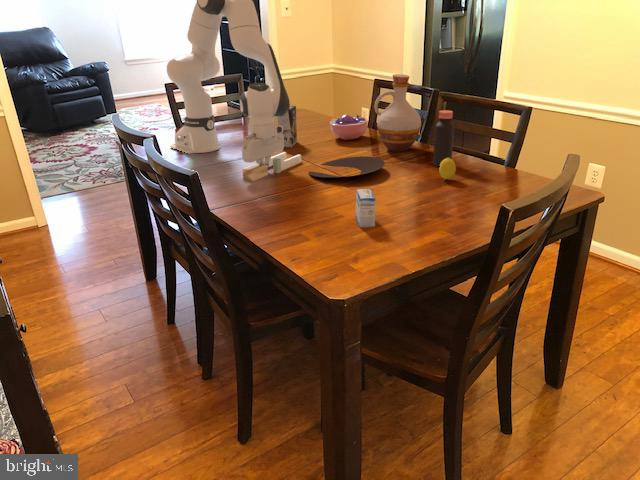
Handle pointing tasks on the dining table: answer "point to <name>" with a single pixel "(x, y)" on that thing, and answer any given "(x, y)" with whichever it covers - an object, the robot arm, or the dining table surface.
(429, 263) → the dining table surface
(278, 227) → the dining table surface
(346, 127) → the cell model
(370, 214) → the medicine box
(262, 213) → the dining table surface
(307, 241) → the dining table surface
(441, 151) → the bottle
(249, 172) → the maple block
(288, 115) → the coffee box
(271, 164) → the green-tipped fork clamp
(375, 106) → the jug
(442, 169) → the lemon
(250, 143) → the robot arm
